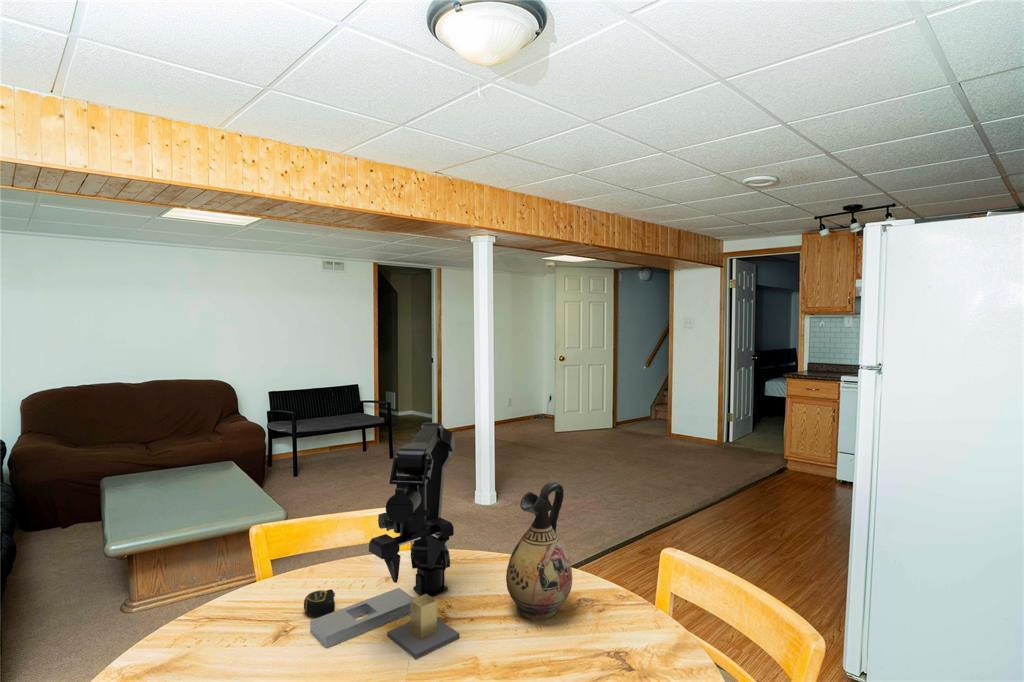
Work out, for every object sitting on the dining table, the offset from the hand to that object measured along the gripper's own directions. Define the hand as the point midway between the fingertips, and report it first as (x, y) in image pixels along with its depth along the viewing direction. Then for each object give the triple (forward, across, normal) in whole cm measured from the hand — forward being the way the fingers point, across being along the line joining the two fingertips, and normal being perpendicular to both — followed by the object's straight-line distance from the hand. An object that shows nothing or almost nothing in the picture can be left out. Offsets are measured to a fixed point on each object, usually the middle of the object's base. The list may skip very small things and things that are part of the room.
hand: (413, 575), depth 121 cm
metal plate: (+12, +6, -9) cm, 16 cm away
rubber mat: (+12, +1, +5) cm, 13 cm away
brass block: (+11, +1, +5) cm, 12 cm away
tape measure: (+12, +11, -21) cm, 26 cm away
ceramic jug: (+12, -26, +14) cm, 32 cm away
